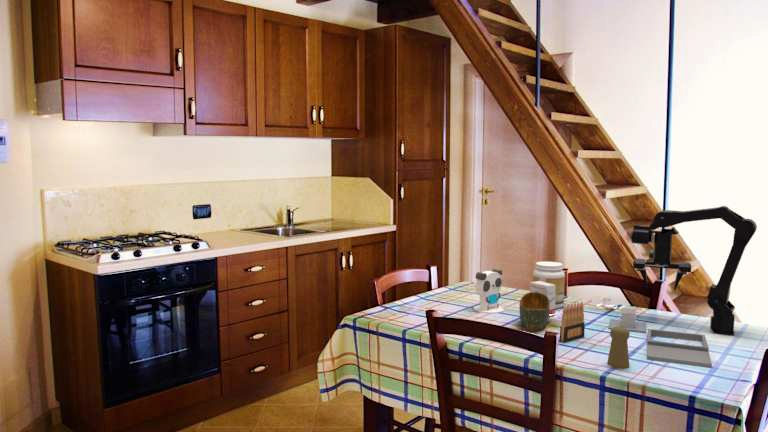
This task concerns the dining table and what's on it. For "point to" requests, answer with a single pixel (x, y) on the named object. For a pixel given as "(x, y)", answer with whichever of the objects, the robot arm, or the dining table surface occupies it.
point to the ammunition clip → (572, 323)
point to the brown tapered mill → (619, 348)
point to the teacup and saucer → (606, 303)
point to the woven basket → (534, 311)
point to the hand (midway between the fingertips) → (660, 289)
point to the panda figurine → (489, 291)
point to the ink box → (545, 292)
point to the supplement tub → (551, 278)
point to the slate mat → (638, 328)
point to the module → (628, 318)
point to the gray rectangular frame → (678, 349)
